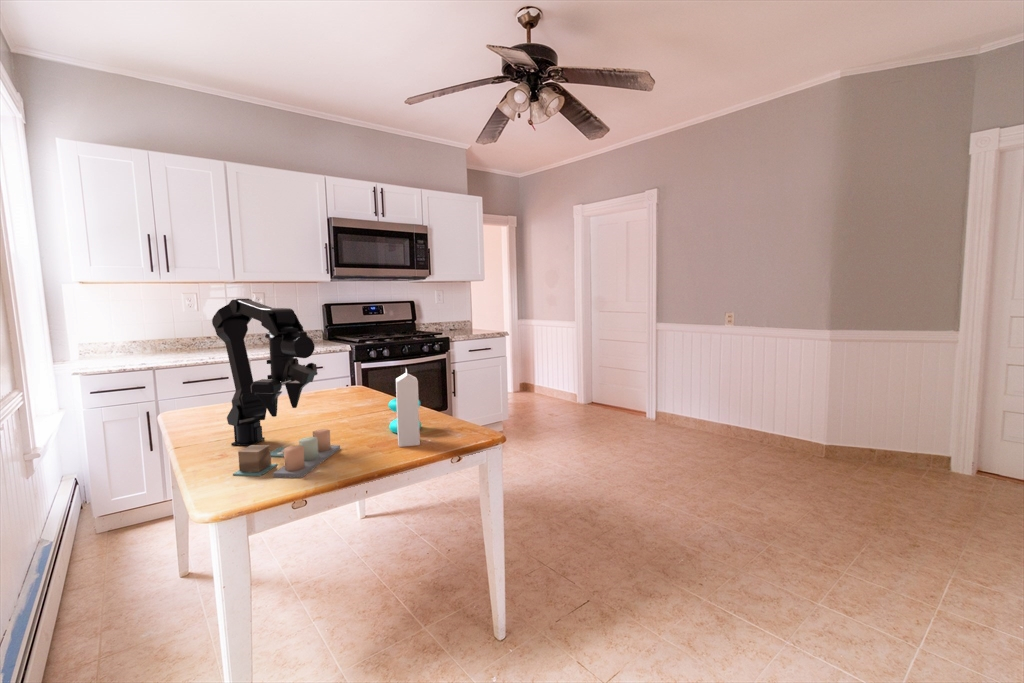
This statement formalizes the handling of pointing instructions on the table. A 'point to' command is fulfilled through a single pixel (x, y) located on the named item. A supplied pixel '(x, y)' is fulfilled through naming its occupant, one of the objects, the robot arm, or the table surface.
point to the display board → (307, 464)
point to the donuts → (394, 423)
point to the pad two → (255, 472)
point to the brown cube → (254, 458)
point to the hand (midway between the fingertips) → (284, 412)
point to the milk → (407, 410)
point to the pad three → (278, 452)
